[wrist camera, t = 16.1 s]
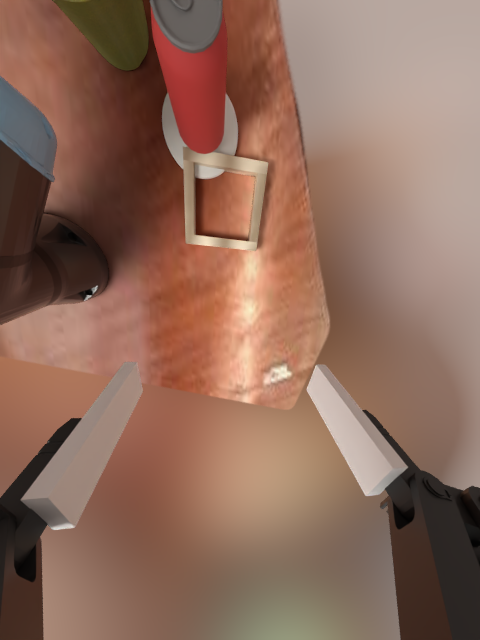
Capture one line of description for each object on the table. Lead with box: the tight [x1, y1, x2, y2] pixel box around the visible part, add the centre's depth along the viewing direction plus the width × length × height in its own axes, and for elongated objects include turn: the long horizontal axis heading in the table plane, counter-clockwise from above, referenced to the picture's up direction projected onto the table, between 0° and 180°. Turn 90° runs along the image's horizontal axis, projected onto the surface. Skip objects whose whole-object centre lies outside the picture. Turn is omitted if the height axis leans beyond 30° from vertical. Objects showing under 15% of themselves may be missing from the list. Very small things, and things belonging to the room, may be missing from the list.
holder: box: [183, 147, 268, 251], centre depth 29 cm, size 13×13×2 cm
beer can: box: [150, 0, 227, 154], centre depth 19 cm, size 7×7×12 cm
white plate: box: [162, 92, 238, 179], centre depth 25 cm, size 11×11×1 cm
